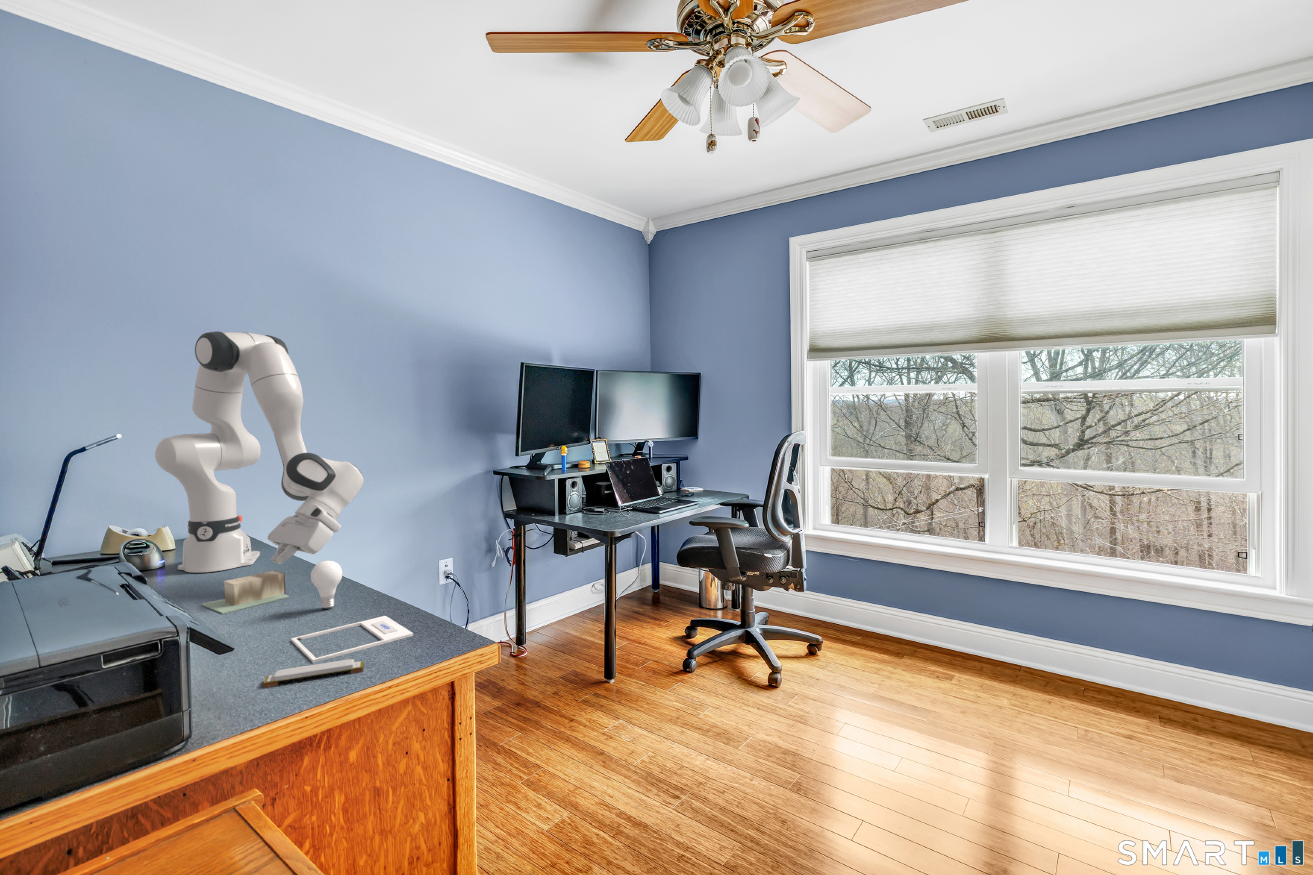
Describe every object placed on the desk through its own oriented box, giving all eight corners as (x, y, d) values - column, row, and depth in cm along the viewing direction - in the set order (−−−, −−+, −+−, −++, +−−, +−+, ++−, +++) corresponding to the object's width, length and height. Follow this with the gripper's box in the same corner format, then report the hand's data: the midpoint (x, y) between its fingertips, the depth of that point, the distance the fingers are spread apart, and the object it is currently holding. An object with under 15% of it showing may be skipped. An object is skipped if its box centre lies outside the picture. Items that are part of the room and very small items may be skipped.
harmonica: (363, 667, 106) (363, 656, 106) (362, 674, 104) (362, 662, 103) (267, 682, 101) (266, 670, 100) (263, 690, 98) (263, 678, 98)
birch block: (274, 570, 150) (224, 581, 141) (284, 573, 147) (233, 584, 138) (275, 589, 150) (225, 601, 141) (285, 593, 148) (234, 605, 138)
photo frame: (413, 632, 120) (312, 659, 107) (413, 637, 120) (313, 665, 107) (385, 614, 130) (291, 637, 118) (385, 619, 130) (291, 642, 118)
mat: (267, 589, 151) (267, 588, 151) (289, 597, 145) (289, 595, 145) (201, 605, 140) (201, 604, 140) (222, 613, 134) (222, 612, 134)
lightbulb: (319, 615, 132) (317, 565, 132) (306, 609, 136) (305, 561, 136) (348, 607, 137) (347, 560, 137) (335, 602, 141) (334, 556, 141)
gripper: (285, 506, 159) (246, 549, 152) (326, 513, 148) (285, 560, 140) (303, 520, 163) (265, 563, 156) (344, 527, 152) (306, 574, 144)
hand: (275, 562), depth 148 cm, fingers closed
